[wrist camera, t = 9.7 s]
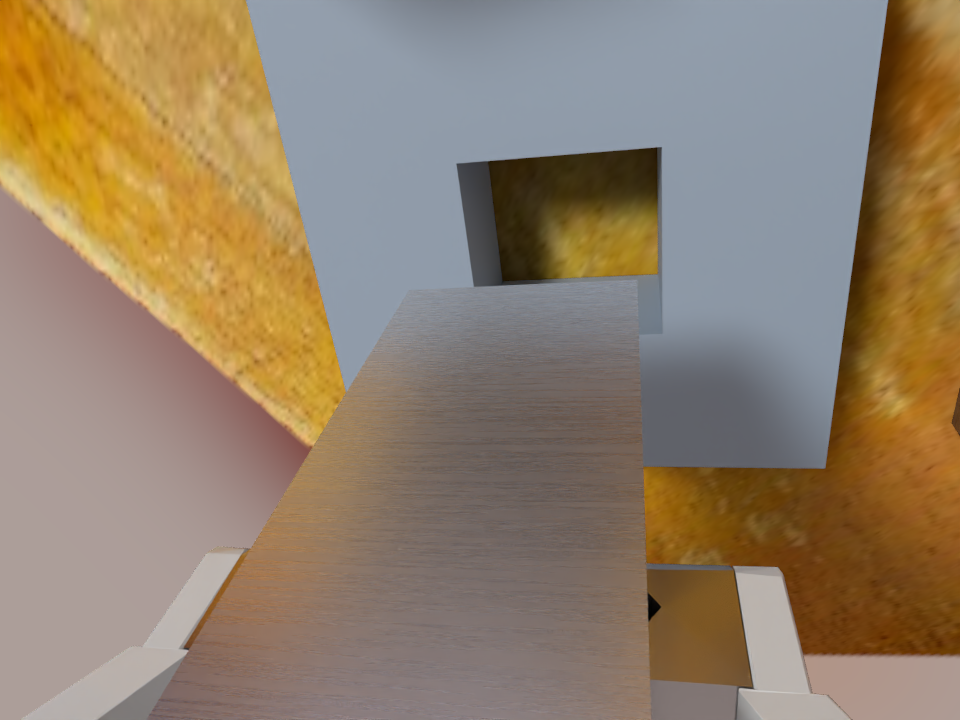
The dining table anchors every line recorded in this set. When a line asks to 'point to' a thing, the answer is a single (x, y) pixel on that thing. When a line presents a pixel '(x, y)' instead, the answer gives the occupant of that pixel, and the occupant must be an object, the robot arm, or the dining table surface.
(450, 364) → the square bit
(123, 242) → the dining table surface
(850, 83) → the bore block
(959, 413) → the dark grey rectangular slab
